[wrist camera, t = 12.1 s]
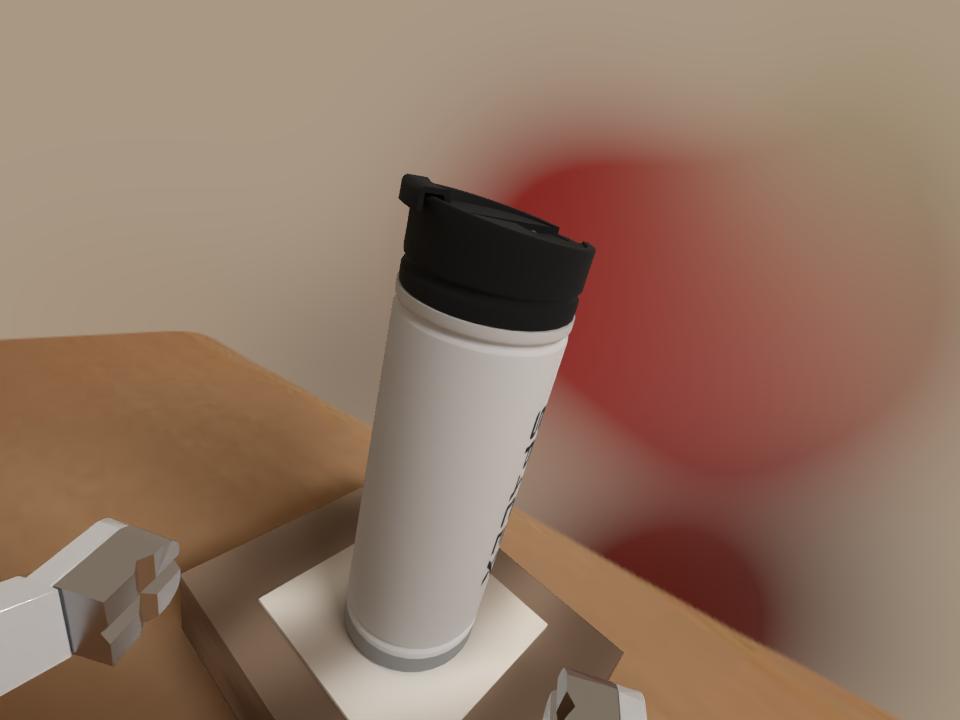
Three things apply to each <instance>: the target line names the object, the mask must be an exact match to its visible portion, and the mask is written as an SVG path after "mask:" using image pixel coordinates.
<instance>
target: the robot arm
mask: <svg viewBox="0 0 960 720" xmlns="http://www.w3.org/2000/svg"><path fill="white" fill-rule="evenodd" d="M178 554H179V544H178V541H175V540H172V539H169V538H166V537H163V536H160V535H157V534H155V533H152V532H149V531H146V530H143V529H140V528H137V527H134V526H132V525H129V524H126V523H123V522H120V521H117V520H114V519H111V518H105V519H103V520H100V521H98V522H96V523H95V524H93V525H92V526H91V527H90V528H88V529H87V530H86V531H85V532H83V533H82V534H81V535H79V536H78V537H77V538H76V539H74V540H73V541H72V542H71V543H69V544H68V545H67V546H66V547H64V548H63V549H62V550H60V551H59V552H58V553H57V554H55V555H54V556H53V557H52V558H50V559H49V560H48V561H46V562H45V563H44V564H43V565H41V566H40V567H39V568H38V569H36V570H35V571H34V572H33V573H31V574H30V575H29V576H27V577H26V578H25V577H22V576H16V577H14V578H11V579H8V580H5V581H2V582H0V696H2V695H4V694H5V693H7V692H9V691H11V690H13V689H14V688H16V687H18V686H20V685H22V684H23V683H25V682H27V681H29V680H30V679H32V678H34V677H36V676H38V675H39V674H41V673H43V672H45V671H47V670H48V669H50V668H52V667H54V666H56V665H57V664H59V663H61V662H63V661H65V660H66V659H68V658H70V657H71V656H72V654H75V655H78V656H81V657H84V658H88V659H91V660H94V661H97V662H100V663H104V664H107V665H110V666H113V667H114V665H115V664H116V663H117V662H118V661H119V660H120V659H121V658H122V657H123V655H124V654H125V653H126V652H127V651H128V650H129V649H130V648H131V646H132V645H133V644H134V643H135V642H136V641H137V640H138V639H139V637H140V636H141V634H142V626H143V623H144V622H146V621H148V620H151V619H153V618H155V617H157V616H159V615H160V614H161V612H162V611H163V610H164V609H165V608H166V607H167V605H168V604H169V603H170V601H171V600H172V598H173V596H174V594H175V592H176V591H177V589H178V586H179V582H180V578H181V572H180V568H179V566H178V565H177V563H176V562H175V561H174V559H175V558H176V557H177V556H178ZM71 653H72V654H71ZM543 720H647V715H646V707H645V699H644V697H643V695H642V693H641V692H640V691H637V690H634V689H630V688H627V687H624V686H621V685H617V684H614V682H611V681H608V680H605V679H601V678H598V677H595V676H592V675H588V674H585V673H582V672H579V671H575V670H572V669H569V668H566V667H565V668H563V669H562V670H561V672H560V674H559V676H558V685H557V690H554V691H552V692H551V694H550V696H549V699H548V701H547V704H546V708H545V712H544V716H543Z"/></svg>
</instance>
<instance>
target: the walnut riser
mask: <svg viewBox="0 0 960 720" xmlns="http://www.w3.org/2000/svg"><path fill="white" fill-rule="evenodd" d="M362 493H363V487H361V488H359V489H357V490H354V491H352V492H350V493H348V494H346V495H344V496H342V497H340V498H338V499H336V500H334V501H332V502H329V503H327V504H325V505H323V506H321V507H319V508H317V509H315V510H313V511H311V512H309V513H307V514H304V515H302V516H300V517H298V518H296V519H294V520H292V521H290V522H288V523H286V524H284V525H282V526H279V527H277V528H275V529H273V530H271V531H269V532H267V533H265V534H263V535H261V536H259V537H257V538H254V539H252V540H250V541H248V542H246V543H244V544H242V545H240V546H238V547H236V548H234V549H232V550H229V551H227V552H225V553H223V554H221V555H219V556H217V557H215V558H213V559H211V560H209V561H207V562H204V563H202V564H200V565H198V566H196V567H194V568H192V569H190V570H188V571H186V572H184V573H182V574H181V578H180V588H181V608H182V628H183V630H184V632H185V634H186V635H187V637H188V639H189V640H190V642H191V643H192V645H193V647H194V648H195V650H196V652H197V653H198V655H199V657H200V658H201V660H202V662H203V663H204V665H205V667H206V668H207V670H208V671H209V673H210V675H211V676H212V678H213V680H214V681H215V683H216V685H217V686H218V688H219V690H220V691H221V693H222V694H223V696H224V698H225V699H226V701H227V703H228V704H229V706H230V708H231V709H232V711H233V713H234V714H235V716H236V717H237V719H238V720H543V716H544V712H545V708H546V704H547V701H548V699H549V696H550V694H551V692H552V691H554V690H557V685H558V676H559V674H560V672H561V670H562V669H563V668H565V667H566V668H569V669H572V670H575V671H579V672H582V673H585V674H588V675H592V676H595V677H598V678H601V679H605V680H609V679H610V677H611V675H612V673H613V671H614V670H615V668H616V666H617V664H618V662H619V661H620V659H621V657H622V655H623V653H624V652H623V651H621V650H620V649H619V648H618V647H617V646H615V645H614V644H613V643H612V642H611V641H609V640H608V639H607V638H606V637H605V636H603V635H602V634H601V633H600V632H599V631H598V630H596V629H595V628H594V627H593V626H592V625H590V624H589V623H588V622H587V621H586V620H584V619H583V618H582V617H581V616H580V615H578V614H577V613H576V612H575V611H574V610H572V609H571V608H570V607H569V606H568V605H566V604H565V603H564V602H563V601H562V600H561V599H559V598H558V597H557V596H556V595H555V594H553V593H552V592H551V591H550V590H549V589H547V588H546V587H545V586H544V585H543V584H541V583H540V582H539V581H538V580H537V579H535V578H534V577H533V576H532V575H531V574H529V573H528V572H527V571H526V570H525V569H524V568H522V567H521V566H520V565H519V564H518V563H516V562H515V561H514V560H513V559H512V558H510V557H509V556H508V555H507V554H506V553H504V552H503V551H502V550H501V549H500V548H499V549H498V552H497V555H496V558H495V561H494V564H493V567H492V570H491V573H490V576H489V579H488V582H487V585H486V588H485V591H484V594H483V597H482V600H481V603H480V606H479V609H478V612H477V615H476V618H475V621H474V624H473V627H472V630H471V633H470V636H469V638H468V640H467V642H466V644H465V645H464V647H463V648H462V649H461V651H460V652H459V653H458V654H457V655H456V656H455V657H454V658H452V659H451V660H449V661H448V662H447V663H445V664H443V665H441V666H439V667H436V668H434V669H431V670H426V671H422V672H401V671H396V670H391V669H388V668H386V667H384V666H381V665H379V664H377V663H375V662H374V661H372V660H371V659H369V658H368V657H366V656H365V655H364V654H363V653H362V652H361V651H360V650H359V648H358V647H357V646H356V645H355V643H354V642H353V640H352V638H351V637H350V635H349V632H348V629H347V626H346V623H345V615H344V609H345V600H346V593H347V587H348V582H349V575H350V568H351V562H352V556H353V549H354V543H355V537H356V530H357V524H358V518H359V512H360V505H361V499H362Z"/></svg>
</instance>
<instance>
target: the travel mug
mask: <svg viewBox="0 0 960 720" xmlns="http://www.w3.org/2000/svg"><path fill="white" fill-rule="evenodd" d="M399 199H400V200H401V201H402V202H403V203H404V204H406V205H407V206H408V207H410V209H409V216H408V222H407V228H406V234H405V239H404V252H405V254H404V256H403V257H402V259H401V264H400V270H399V273H398V274H397V279H396V287H395V291H396V295H395V296H394V298H393V304H392V310H391V316H390V322H389V329H388V335H387V341H386V348H385V355H384V360H383V367H382V373H381V380H380V386H379V393H378V398H377V404H376V411H375V417H374V423H373V430H372V436H371V442H370V448H369V455H368V461H367V467H366V474H365V480H364V486H363V493H362V499H361V505H360V512H359V518H358V524H357V530H356V537H355V543H354V549H353V556H352V562H351V568H350V575H349V582H348V587H347V593H346V600H345V609H344V615H345V623H346V626H347V629H348V632H349V635H350V637H351V638H352V640H353V642H354V643H355V645H356V646H357V647H358V648H359V650H360V651H361V652H362V653H363V654H364V655H365V656H366V657H368V658H369V659H371V660H372V661H374V662H375V663H377V664H379V665H381V666H384V667H386V668H388V669H391V670H396V671H401V672H422V671H426V670H431V669H434V668H436V667H439V666H441V665H443V664H445V663H447V662H448V661H449V660H451V659H452V658H454V657H455V656H456V655H457V654H458V653H459V652H460V651H461V649H462V648H463V647H464V645H465V644H466V642H467V640H468V638H469V636H470V633H471V630H472V627H473V624H474V621H475V618H476V615H477V612H478V609H479V606H480V603H481V600H482V597H483V594H484V591H485V588H486V585H487V582H488V579H489V576H490V573H491V570H492V567H493V564H494V561H495V558H496V555H497V552H498V549H499V546H500V543H501V540H502V537H503V534H504V531H505V528H506V525H507V522H508V519H509V516H510V513H511V510H512V507H513V504H514V501H515V498H516V495H517V492H518V489H519V486H520V483H521V480H522V477H523V473H524V471H525V468H526V465H527V462H528V459H529V455H530V453H531V449H532V447H533V444H534V441H535V438H536V435H537V432H538V428H539V426H540V423H541V420H542V417H543V413H544V411H545V408H546V405H547V402H548V399H549V396H550V392H551V390H552V386H553V384H554V381H555V378H556V375H557V371H558V369H559V366H560V363H561V360H562V356H563V354H564V351H565V347H566V344H567V341H568V334H569V333H570V332H571V329H572V326H573V323H574V320H575V312H576V309H577V305H578V302H579V299H578V295H579V294H581V292H582V291H583V288H584V285H585V282H586V279H587V275H588V273H589V269H590V267H591V263H592V260H593V257H594V255H595V251H596V249H595V248H594V247H593V246H592V245H590V244H589V243H588V242H584V241H583V242H582V244H581V243H576V242H574V241H572V240H571V239H569V238H567V237H564V236H562V235H559V234H558V231H559V227H558V226H556V225H553V224H551V223H549V222H547V221H545V220H542V219H540V218H537V217H535V216H533V215H530V214H527V213H525V212H523V211H520V210H517V209H515V208H512V207H509V206H507V205H504V204H501V203H498V202H495V201H492V200H489V199H486V198H484V197H481V196H478V195H474V194H471V193H468V192H465V191H461V190H458V189H454V188H451V187H447V186H443V185H439V184H434V183H432V182H431V181H430V180H429V178H427V177H423V176H417V175H411V174H406V175H404V176H403V178H402V182H401V188H400V194H399Z"/></svg>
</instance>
